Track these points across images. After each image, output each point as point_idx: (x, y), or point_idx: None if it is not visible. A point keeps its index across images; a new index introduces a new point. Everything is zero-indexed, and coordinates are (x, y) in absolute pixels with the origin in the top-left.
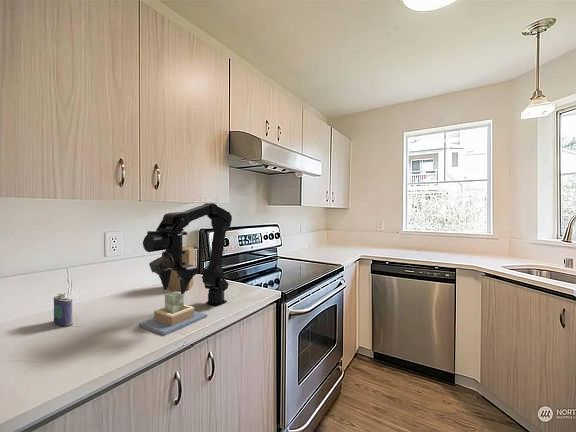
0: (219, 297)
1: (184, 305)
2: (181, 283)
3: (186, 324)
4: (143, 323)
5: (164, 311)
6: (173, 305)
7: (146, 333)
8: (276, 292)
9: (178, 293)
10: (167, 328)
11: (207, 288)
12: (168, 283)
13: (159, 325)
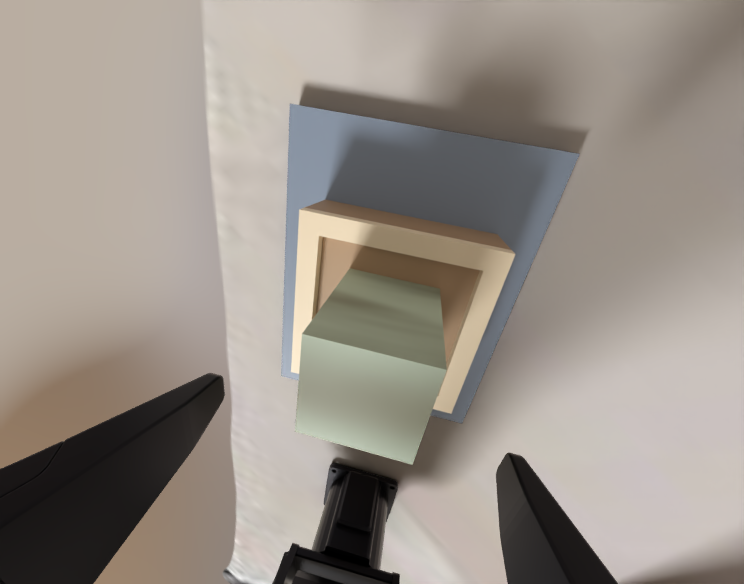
0: (324, 511)
1: None
2: (14, 476)
3: (287, 258)
4: (534, 157)
5: (435, 279)
6: (332, 294)
7: (427, 75)
8: (240, 571)
9: (330, 417)
10: (322, 160)
11: (384, 572)
12: (506, 564)
13: (401, 176)
